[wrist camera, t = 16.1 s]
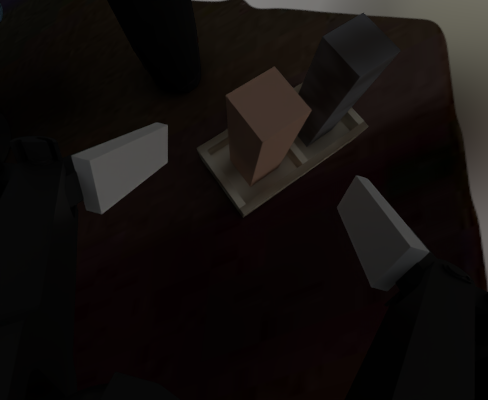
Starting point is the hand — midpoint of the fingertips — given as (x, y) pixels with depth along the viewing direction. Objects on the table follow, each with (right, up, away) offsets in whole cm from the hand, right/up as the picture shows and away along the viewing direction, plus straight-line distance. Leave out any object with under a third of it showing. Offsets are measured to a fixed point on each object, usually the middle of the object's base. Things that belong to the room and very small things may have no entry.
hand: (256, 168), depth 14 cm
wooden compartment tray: (+5, +6, +17) cm, 19 cm away
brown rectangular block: (+1, +3, +15) cm, 15 cm away
